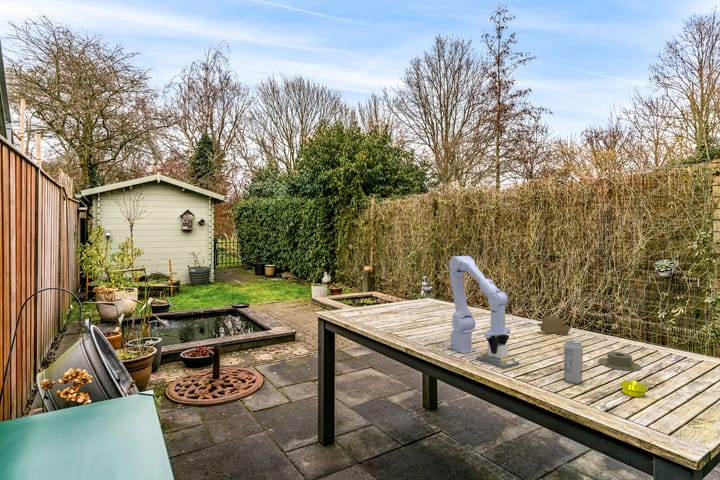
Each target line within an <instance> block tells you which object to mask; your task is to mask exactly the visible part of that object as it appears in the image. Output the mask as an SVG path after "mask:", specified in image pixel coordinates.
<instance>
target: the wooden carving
mask: <svg viewBox="0 0 720 480" xmlns="http://www.w3.org/2000/svg"><path fill="white" fill-rule="evenodd" d="M541 319H542V320H541V321H542V323H539V322H538V323H537V326H538V328H539V327H540V328H539V329H540V331H541V332H543V333H545V334H547V335H550V334H558V335H562V334H563V335H568V334H569V331H570V330H571V329H572V328H571V326H569V325H568V324H565V321H564V319H563V318H562V317H561V318H559V317H558V316H554V315H553V316H552V315H550V316H546V317H543V318H541Z"/></svg>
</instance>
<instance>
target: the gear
mask: <svg viewBox="0 0 720 480" xmlns="http://www.w3.org/2000/svg"><path fill="white" fill-rule="evenodd" d="M619 386H620V387H621V388H622V393H623V394H624V395H626V396H629V397H633V398H644V397H645V392H647V391H648V387H647V386H645V384H643V383H642V382H640V381H636V380H628V379H626V380H622V381H621V382H619Z"/></svg>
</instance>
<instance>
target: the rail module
mask: <svg viewBox="0 0 720 480" xmlns="http://www.w3.org/2000/svg"><path fill="white" fill-rule="evenodd" d="M487 352H488V355H490V356H493V357H496V358H499V359H504V358H508V357H509V346H508V345H504V344H500V343H498V346H497V353H496V354H493V353H491V349H490V345H489V343H488V342H487Z"/></svg>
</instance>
